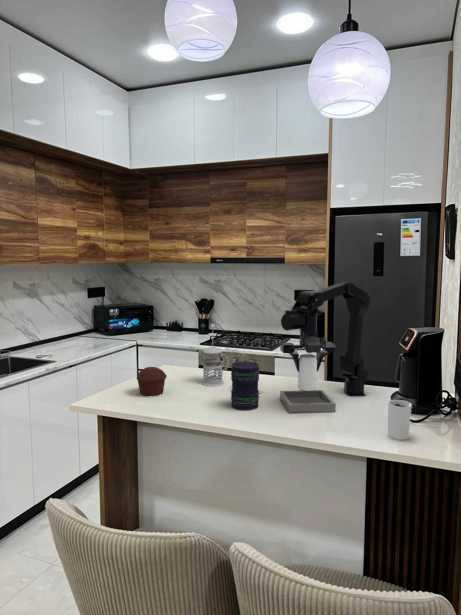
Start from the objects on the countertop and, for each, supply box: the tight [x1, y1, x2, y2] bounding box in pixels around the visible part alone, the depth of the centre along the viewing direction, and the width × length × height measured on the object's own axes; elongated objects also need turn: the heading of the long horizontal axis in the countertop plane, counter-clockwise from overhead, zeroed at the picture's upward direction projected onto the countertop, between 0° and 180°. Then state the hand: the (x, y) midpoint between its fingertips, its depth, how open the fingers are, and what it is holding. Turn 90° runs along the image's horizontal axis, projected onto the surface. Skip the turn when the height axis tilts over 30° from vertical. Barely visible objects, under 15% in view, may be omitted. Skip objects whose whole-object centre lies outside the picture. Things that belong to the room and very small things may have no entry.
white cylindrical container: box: [387, 399, 412, 441], centre depth 137 cm, size 7×7×10 cm
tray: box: [279, 389, 337, 414], centre depth 165 cm, size 16×16×3 cm
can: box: [297, 353, 318, 391], centre depth 164 cm, size 6×6×12 cm
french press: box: [200, 323, 230, 388], centre depth 192 cm, size 10×12×25 cm
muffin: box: [136, 366, 167, 397], centre depth 179 cm, size 12×11×10 cm
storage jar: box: [230, 361, 260, 411], centre depth 163 cm, size 10×10×15 cm
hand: (307, 371), depth 164 cm, fingers closed on can, 6 cm apart
